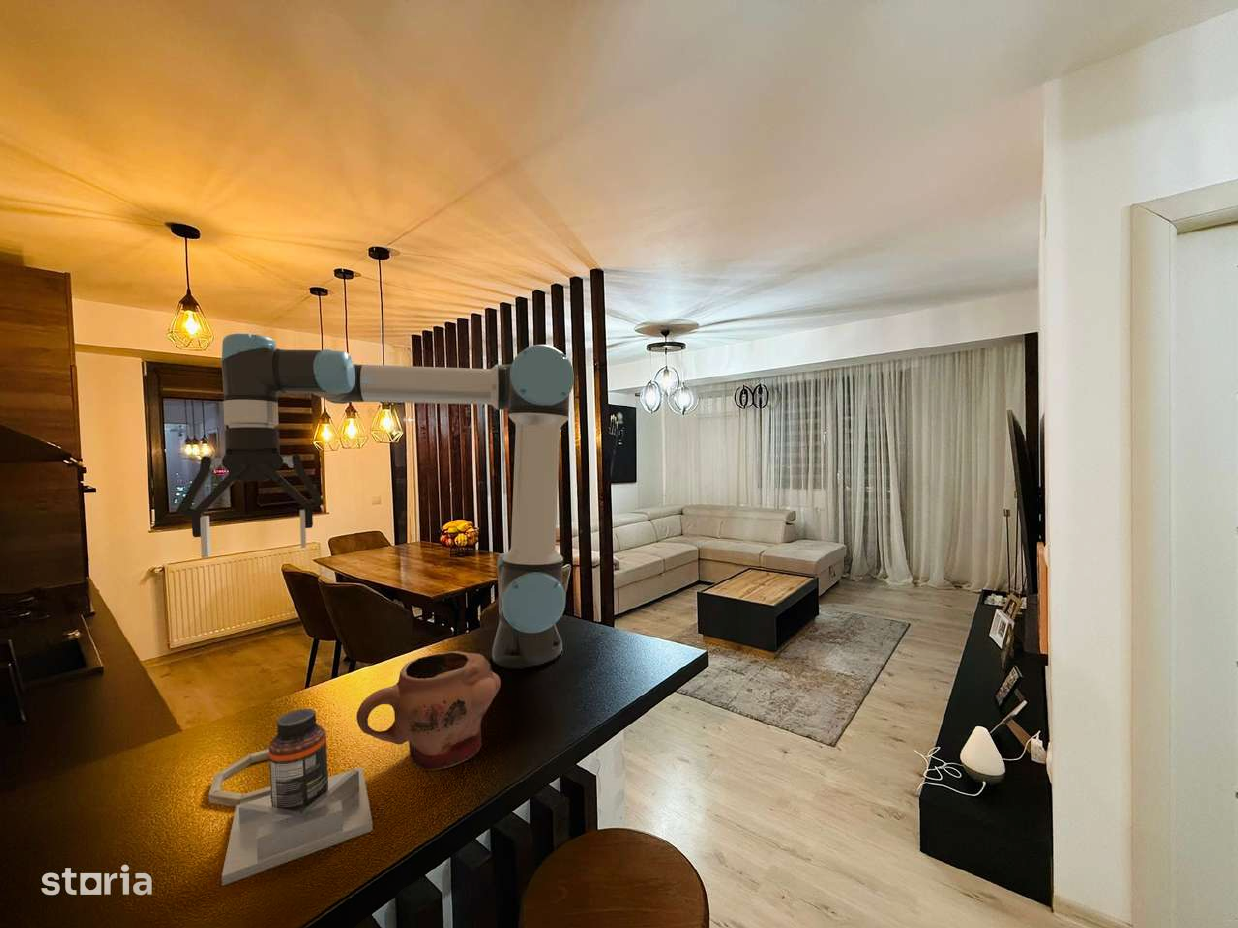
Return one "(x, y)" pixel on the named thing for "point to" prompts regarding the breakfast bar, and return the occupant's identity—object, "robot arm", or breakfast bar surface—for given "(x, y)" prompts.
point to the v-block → (296, 827)
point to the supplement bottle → (298, 761)
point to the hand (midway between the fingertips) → (256, 551)
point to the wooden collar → (215, 789)
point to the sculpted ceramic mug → (436, 707)
